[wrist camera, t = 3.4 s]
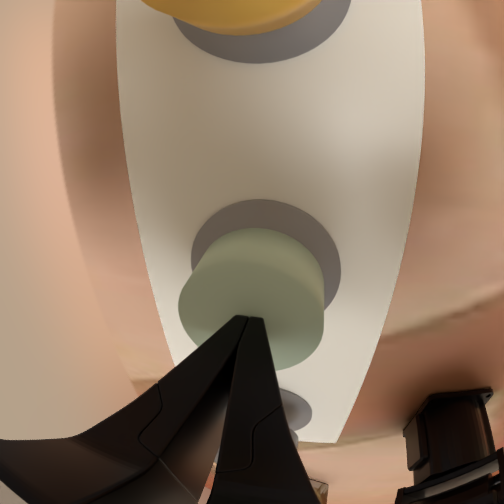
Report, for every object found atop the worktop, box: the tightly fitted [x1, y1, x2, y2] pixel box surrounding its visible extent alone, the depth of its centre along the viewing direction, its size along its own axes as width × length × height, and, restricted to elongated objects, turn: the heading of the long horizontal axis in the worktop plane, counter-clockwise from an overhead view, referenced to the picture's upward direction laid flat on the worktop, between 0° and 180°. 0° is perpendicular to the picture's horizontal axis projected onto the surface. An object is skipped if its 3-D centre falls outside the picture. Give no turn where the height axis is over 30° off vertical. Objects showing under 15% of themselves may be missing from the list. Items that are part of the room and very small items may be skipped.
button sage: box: [178, 228, 324, 371], centre depth 10 cm, size 4×4×2 cm
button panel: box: [116, 0, 425, 443], centre depth 12 cm, size 10×28×3 cm, turn 2°
